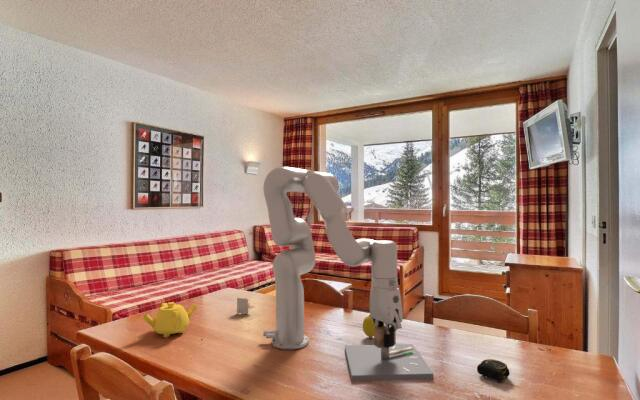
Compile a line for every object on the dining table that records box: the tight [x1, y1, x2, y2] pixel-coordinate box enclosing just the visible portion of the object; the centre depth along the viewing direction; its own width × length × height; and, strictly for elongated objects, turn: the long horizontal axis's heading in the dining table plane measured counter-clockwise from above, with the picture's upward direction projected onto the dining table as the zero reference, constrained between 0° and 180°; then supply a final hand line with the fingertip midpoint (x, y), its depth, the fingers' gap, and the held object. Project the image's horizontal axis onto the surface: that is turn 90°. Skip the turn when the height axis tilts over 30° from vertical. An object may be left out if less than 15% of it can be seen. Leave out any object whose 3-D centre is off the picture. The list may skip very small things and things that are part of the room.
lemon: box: [362, 314, 375, 339], centre depth 126 cm, size 6×6×8 cm
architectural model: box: [236, 297, 255, 316], centre depth 155 cm, size 3×7×7 cm, turn 65°
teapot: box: [141, 301, 198, 338], centre depth 133 cm, size 20×18×11 cm
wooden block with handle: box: [373, 325, 413, 359], centre depth 108 cm, size 13×2×9 cm, turn 115°
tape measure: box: [476, 358, 510, 383], centre depth 97 cm, size 7×7×4 cm
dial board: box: [344, 343, 435, 382], centre depth 106 cm, size 22×20×2 cm
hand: (385, 343), depth 106 cm, fingers closed on wooden block with handle, 2 cm apart
